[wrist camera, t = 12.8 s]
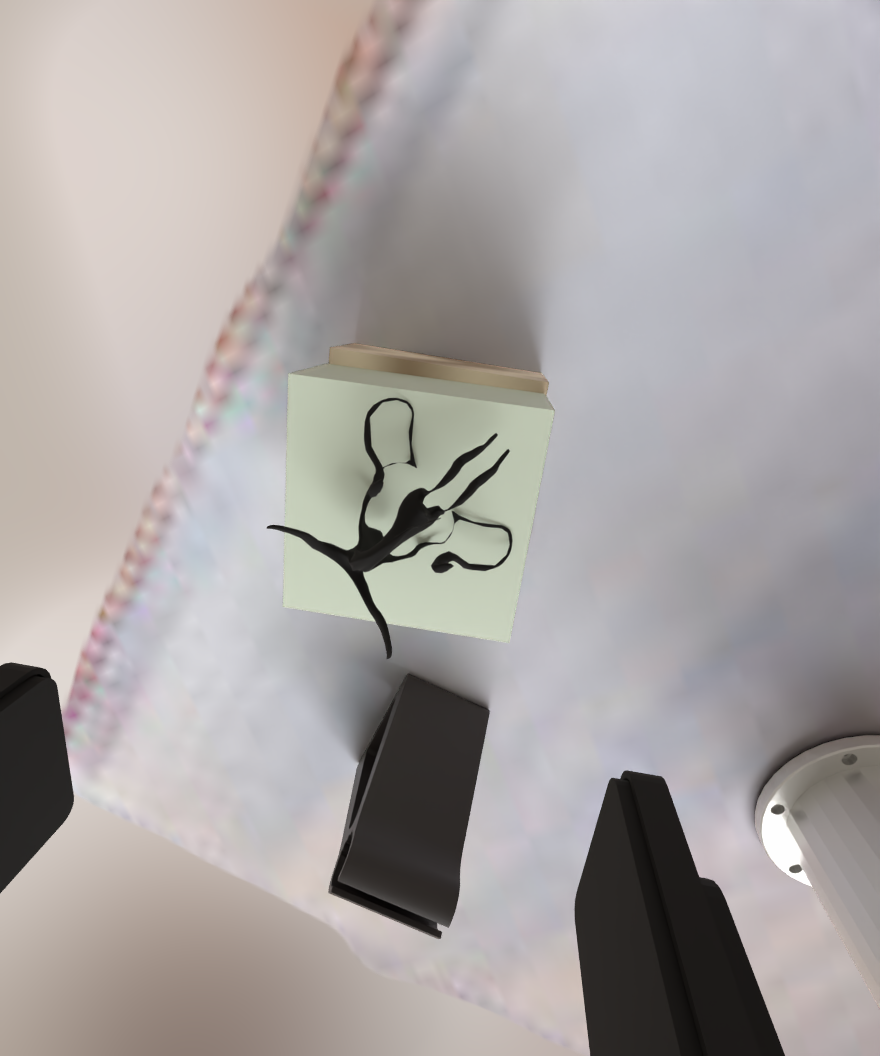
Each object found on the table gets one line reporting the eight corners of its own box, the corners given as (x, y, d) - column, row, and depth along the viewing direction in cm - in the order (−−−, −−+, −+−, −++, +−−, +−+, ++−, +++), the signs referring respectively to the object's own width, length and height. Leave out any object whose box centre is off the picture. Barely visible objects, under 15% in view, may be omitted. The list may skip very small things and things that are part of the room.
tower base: (541, 372, 29) (549, 382, 25) (505, 544, 33) (507, 581, 28) (356, 342, 30) (329, 347, 25) (341, 516, 33) (316, 548, 29)
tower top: (544, 393, 25) (554, 410, 20) (507, 590, 29) (509, 643, 24) (326, 363, 25) (288, 373, 21) (317, 560, 29) (282, 607, 24)
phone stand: (408, 670, 36) (369, 826, 25) (490, 708, 37) (486, 878, 26) (357, 763, 40) (302, 938, 29) (432, 797, 40) (407, 982, 29)
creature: (432, 356, 21) (274, 487, 22) (443, 342, 16) (234, 515, 17) (552, 513, 23) (401, 630, 24) (597, 547, 18) (402, 696, 18)
